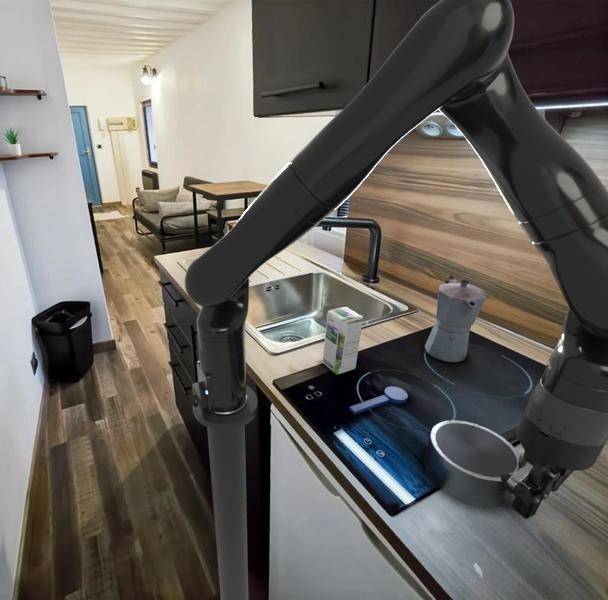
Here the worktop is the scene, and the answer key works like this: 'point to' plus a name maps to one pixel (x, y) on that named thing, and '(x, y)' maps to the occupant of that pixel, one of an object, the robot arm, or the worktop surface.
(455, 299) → the moka pot
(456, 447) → the saucepan
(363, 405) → the spoon
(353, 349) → the syrup box
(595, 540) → the worktop surface
